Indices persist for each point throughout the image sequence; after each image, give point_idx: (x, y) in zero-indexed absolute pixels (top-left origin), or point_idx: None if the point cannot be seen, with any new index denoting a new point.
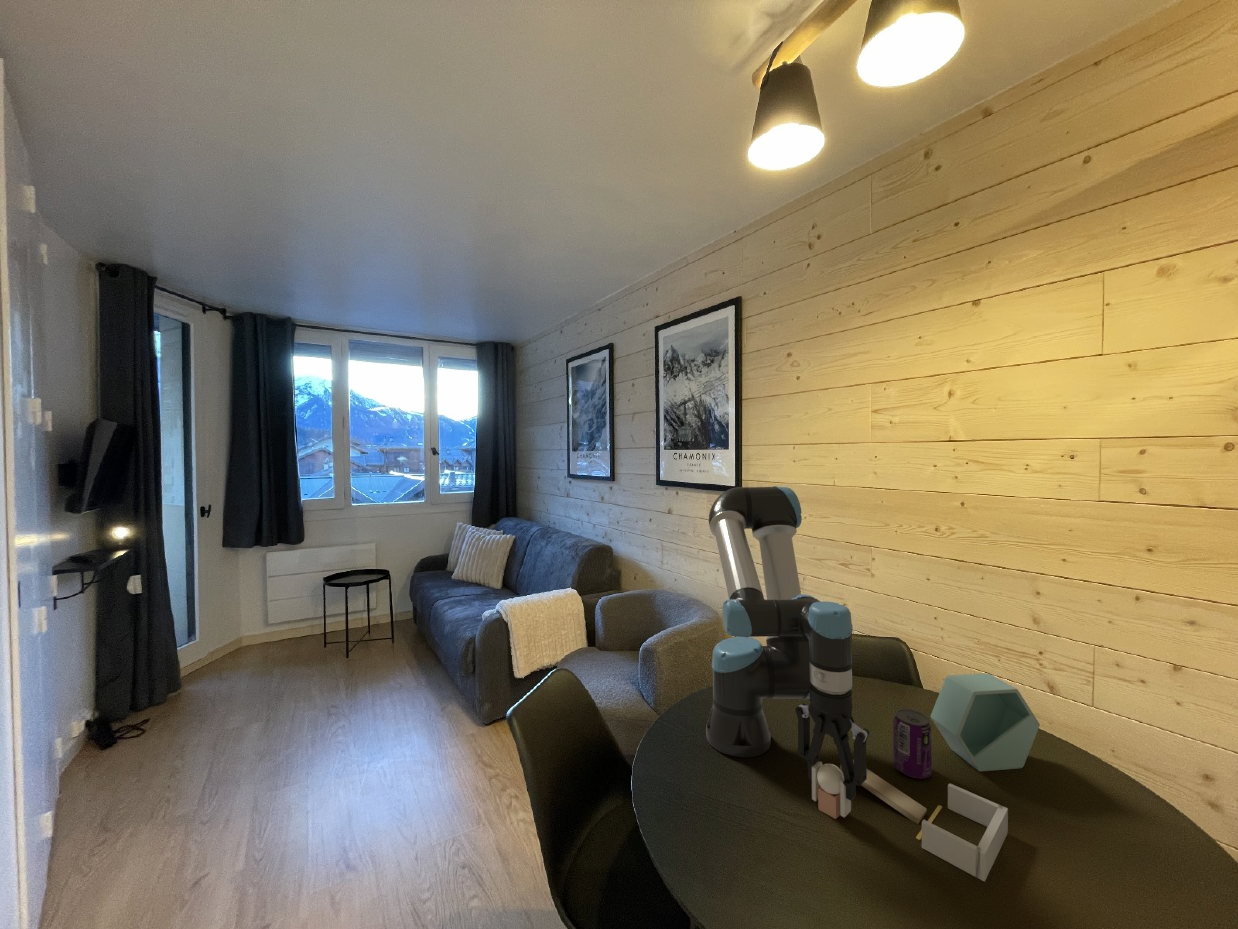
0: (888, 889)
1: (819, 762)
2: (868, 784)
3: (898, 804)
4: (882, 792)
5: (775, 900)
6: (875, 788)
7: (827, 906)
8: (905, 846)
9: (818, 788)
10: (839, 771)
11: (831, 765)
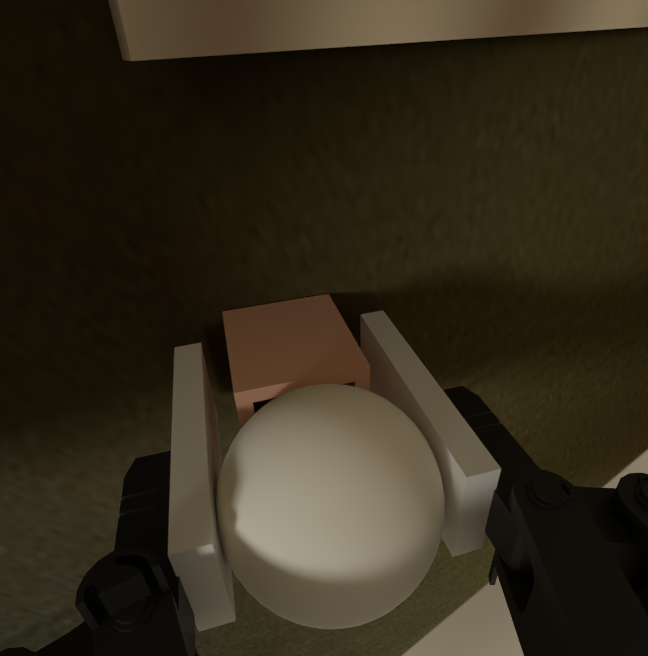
0: (571, 452)
1: (192, 562)
2: (435, 40)
3: (624, 19)
4: (533, 11)
5: (369, 652)
6: (486, 25)
7: (460, 585)
8: (611, 255)
9: (214, 431)
10: (431, 549)
11: (366, 604)
